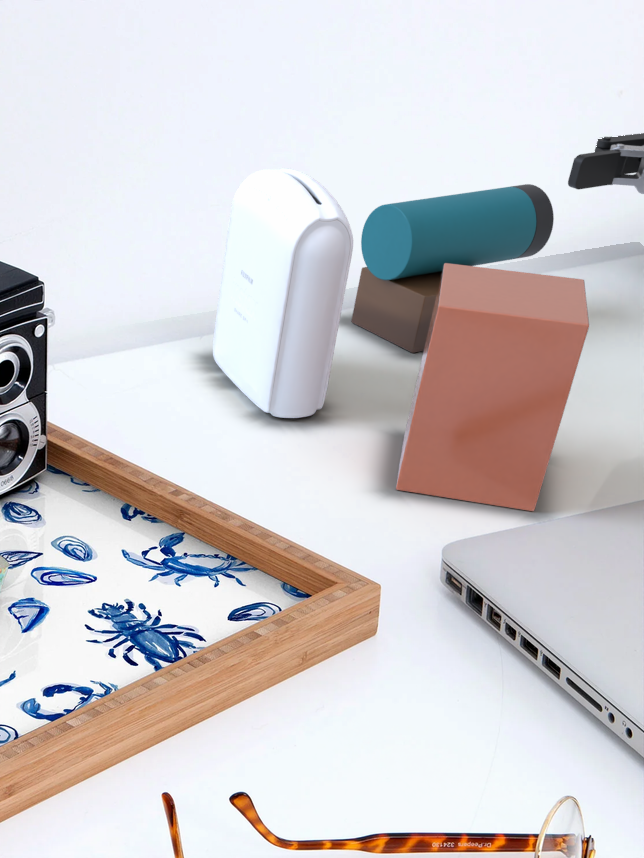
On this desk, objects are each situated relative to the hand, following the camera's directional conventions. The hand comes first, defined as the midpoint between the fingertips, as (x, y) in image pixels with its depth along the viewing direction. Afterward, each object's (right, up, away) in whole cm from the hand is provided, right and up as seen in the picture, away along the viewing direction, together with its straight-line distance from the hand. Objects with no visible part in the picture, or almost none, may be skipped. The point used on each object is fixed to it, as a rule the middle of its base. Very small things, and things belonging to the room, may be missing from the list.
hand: (623, 189), depth 98 cm
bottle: (-12, -4, -4) cm, 14 cm away
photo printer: (-26, -16, -10) cm, 32 cm away
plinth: (-18, -22, -19) cm, 34 cm away
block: (-14, -10, -2) cm, 17 cm away
